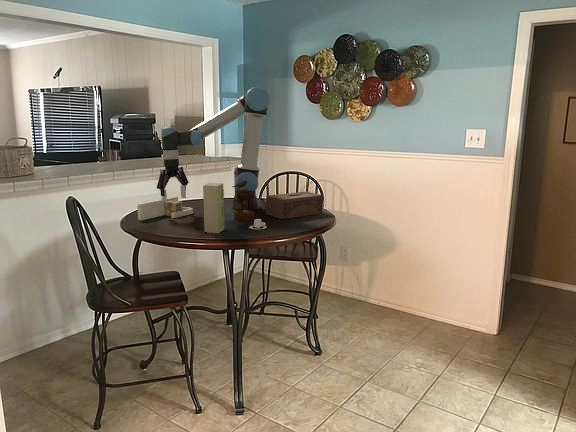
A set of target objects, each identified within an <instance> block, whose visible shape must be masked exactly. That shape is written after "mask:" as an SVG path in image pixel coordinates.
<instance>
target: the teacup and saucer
mask: <svg viewBox="0 0 576 432" xmlns="http://www.w3.org/2000/svg"><path fill="white" fill-rule="evenodd" d="M253 227H255V228H253ZM261 227H262V228H261ZM248 228H249V229H251V230H255V229H260V230H263V229H266V228H267V224H266V222H264V221H262V219H261V218H255V219H254V220H253V225H250V226H249V227H248Z"/></svg>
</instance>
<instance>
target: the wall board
mask: <svg viewBox="0 0 576 432" xmlns="http://www.w3.org/2000/svg"><path fill="white" fill-rule="evenodd" d="M167 201H179V196H171V197H167ZM136 206H137V220H138V221H145V220H149V219H154V218H157V217H163V216H167V215H166V214H165V202H162V198H161V199H156V200H150V201H146V202H141V203H137V205H136ZM193 214H194V209H193V207H189V206H188V207H186V206H182V211H178V212H174V213H171V216H170V217H171V219H176V218H181V217H184V216H188V215H193Z"/></svg>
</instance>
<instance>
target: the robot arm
mask: <svg viewBox="0 0 576 432" xmlns="http://www.w3.org/2000/svg"><path fill="white" fill-rule="evenodd" d="M236 100H237V101H236V102H235V103H233V104H231V105H229V106H227V107H226V108H224V109H222V110H221V111H219V112H218V113H216V114H215V115H212V116H211V117H209V118H207V119H205V120H204V121H201V123H198V125H195V126H194V127H192V128H190V129H188V130H181V131H180V130H177V127H174V126H173V127H172V126H171V127H169V126H168V127H162V129H160V130H161V131H160V132H161V137H160V138H161V146H162V156H163V166H164V167H165V168H163V169H159V170H160V171H159V173H160V174H159V176H158V177H159V178H158V180H157V184H156V189H157V190H160V191H159V192H160V197H161V199H162V202H167V198H168V197H167V195H168V194H167V189H166V187H167V185H168V184H169V181H170V179H172V178H176V179H177V180H178V182H179V183H180V186H179V187H180V198H181V199H186V198H187V186H188V184H189V180H188V177H187V175H186V172H185V171H184V167H183V166H180V160H179V147H198V146H201V145H202V141H203V140H204V139H205V138H207V137H209V136H210V135H212V134H213V133H215V132H217V131H219V130H221V129H223V128H224V127H226V126H228V125H229V124H231V123H232V122H234V121H236V120H238V119H240V118H242V117H243V116H245V122H244V123H245V124H244V133H243V141H242V148H241V156H240V162H239V164H238V165H237V166H235V167H234V170H233V176H234V177H233V178H234V180H233V183H234V185H233V186H235V185H236V184H238V183H240V182H243V181H244V180H246V181H247V184H246V185H247V187H246V186H244V187H242V188H240V191H242V190H243V189H244V188H245V189H246V188H247V190H249V191H253V192H254V197H253V199H250V200H253V201H251V202H252V203H253V205H250V210H251V211H254V210H259V209H260V203H259V200H258V198H257V194H256V192H257V191H256V190H258V187H259V175H260V168H259V167H258V159H259V152H260V147H261V146H260V145H261V137H262V129H263V122H264V119H265V118H266V117H267V115H268V109H269V104H270V102H271V101H270V95H269V93H268V91H267V90H266V88H264V87H261V86H253V87H251V88H249V89H248V90H247V92H246V93H245V94H244V95H242V96H240V97H239V98H237V99H236ZM236 188H237V187H234V196H233V199H232V203H231V209H232V210H234V211H235V207H236V202H234V200H236V192H237V191H239V188H237V190H236ZM237 200H238V199H237ZM245 201H246V200H245ZM239 204H241V203H240V202H237V206H239ZM242 204H243V200H242ZM247 204H248V200H247ZM238 208H239V207H238ZM243 208H244V209H243V210H248V206H247V208H245V207H244V206H243Z"/></svg>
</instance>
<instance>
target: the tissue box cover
mask: <svg viewBox="0 0 576 432" xmlns="http://www.w3.org/2000/svg"><path fill="white" fill-rule="evenodd" d="M323 195H324V194H320V193H315V192H311V191H307V190H306V191H296V192H290V193H289V192H288V193H287V192H286V193H280V194H279V193H278V194H270V195H266V197H265V199H266V200H265V202H266V203H265V206H266V207H265V208H266V212H265V213H266V215H268V216H272V217H274V218H277V219H280V220H284V219H291V218H299V217H306V216H312V215H313V216H314V215H319V214H320V215H321V214H323V205H324V203H323V202H324V201H323V199H324V196H323Z"/></svg>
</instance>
